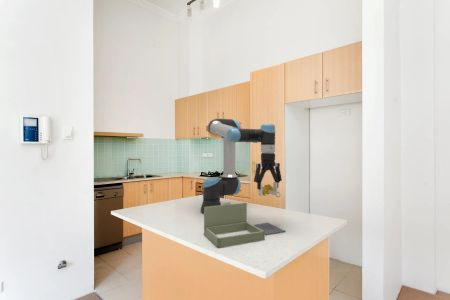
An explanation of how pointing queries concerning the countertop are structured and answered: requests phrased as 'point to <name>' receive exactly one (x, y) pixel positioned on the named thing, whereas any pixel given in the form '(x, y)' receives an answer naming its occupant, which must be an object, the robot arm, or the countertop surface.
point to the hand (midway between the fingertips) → (268, 194)
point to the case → (229, 225)
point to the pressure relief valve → (269, 190)
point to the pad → (269, 228)
